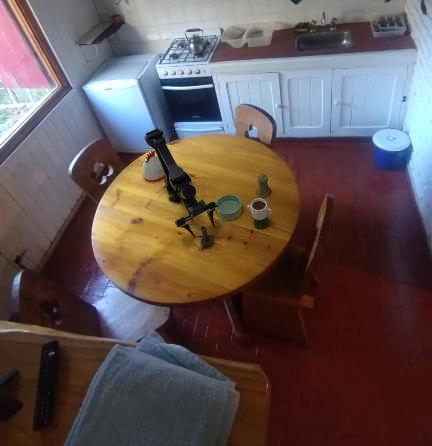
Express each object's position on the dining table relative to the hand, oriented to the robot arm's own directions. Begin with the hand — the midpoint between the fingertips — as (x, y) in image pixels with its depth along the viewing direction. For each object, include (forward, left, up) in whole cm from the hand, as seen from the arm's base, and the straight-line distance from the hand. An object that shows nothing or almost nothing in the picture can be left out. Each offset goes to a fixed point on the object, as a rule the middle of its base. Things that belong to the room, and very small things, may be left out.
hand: (204, 232), depth 147 cm
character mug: (+18, +18, -8) cm, 27 cm away
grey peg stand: (-1, 0, -8) cm, 8 cm away
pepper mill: (+12, +36, -8) cm, 39 cm away
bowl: (+1, +20, -8) cm, 22 cm away
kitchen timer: (-50, +29, -8) cm, 59 cm away
